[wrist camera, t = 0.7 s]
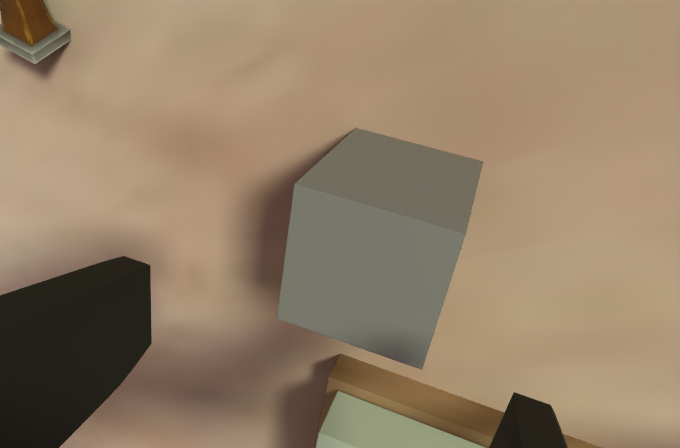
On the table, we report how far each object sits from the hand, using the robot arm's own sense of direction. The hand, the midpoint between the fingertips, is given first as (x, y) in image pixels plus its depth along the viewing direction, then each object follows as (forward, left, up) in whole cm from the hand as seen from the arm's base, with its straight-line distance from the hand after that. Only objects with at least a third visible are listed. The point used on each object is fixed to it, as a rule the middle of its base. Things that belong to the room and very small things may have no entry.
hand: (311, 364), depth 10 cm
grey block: (0, 0, -8) cm, 8 cm away
